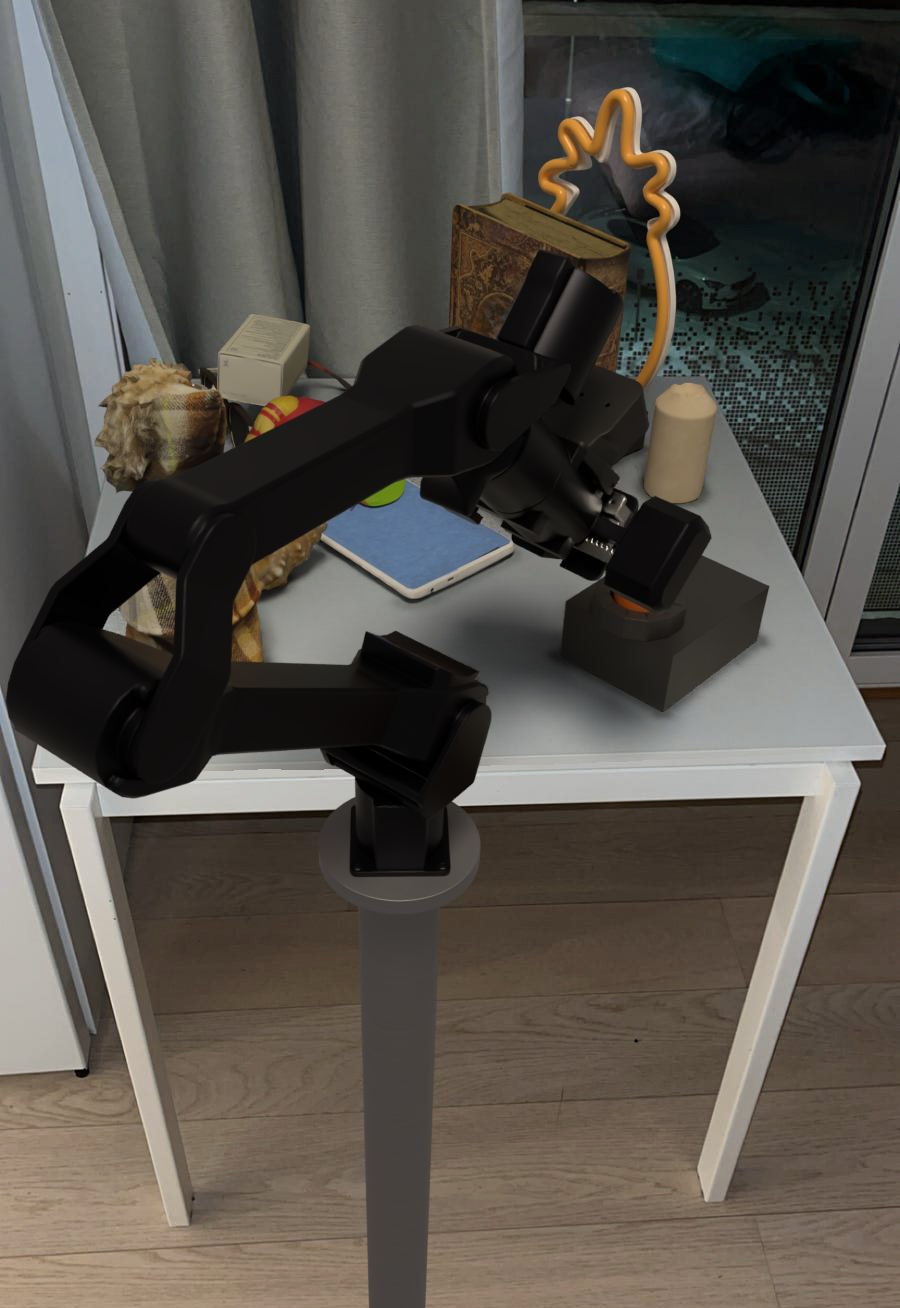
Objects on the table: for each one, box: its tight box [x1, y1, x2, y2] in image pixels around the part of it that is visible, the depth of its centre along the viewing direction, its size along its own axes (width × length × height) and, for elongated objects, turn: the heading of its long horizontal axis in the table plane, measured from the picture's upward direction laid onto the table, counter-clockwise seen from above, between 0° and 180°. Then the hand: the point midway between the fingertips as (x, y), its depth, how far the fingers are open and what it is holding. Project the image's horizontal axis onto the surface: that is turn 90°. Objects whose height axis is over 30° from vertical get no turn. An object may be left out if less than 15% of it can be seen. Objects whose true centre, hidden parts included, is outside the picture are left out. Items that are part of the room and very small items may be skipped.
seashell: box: [254, 522, 328, 591], centre depth 106 cm, size 9×8×10 cm
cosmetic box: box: [216, 313, 311, 407], centre depth 123 cm, size 6×4×12 cm
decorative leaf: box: [360, 479, 406, 506], centre depth 117 cm, size 8×9×1 cm
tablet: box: [320, 478, 516, 600], centre depth 113 cm, size 19×13×1 cm, turn 43°
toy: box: [245, 395, 326, 442], centre depth 114 cm, size 9×11×10 cm
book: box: [448, 192, 632, 373], centre depth 110 cm, size 16×6×25 cm, turn 39°
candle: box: [643, 382, 718, 504], centre depth 118 cm, size 6×6×10 cm
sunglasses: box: [197, 360, 352, 448], centre depth 127 cm, size 14×16×5 cm
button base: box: [559, 554, 770, 713], centre depth 100 cm, size 14×10×7 cm
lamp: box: [537, 86, 681, 456], centre depth 117 cm, size 17×9×32 cm, turn 42°
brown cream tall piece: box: [93, 357, 264, 662], centre depth 91 cm, size 14×14×25 cm
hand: (610, 557), depth 89 cm, fingers closed
